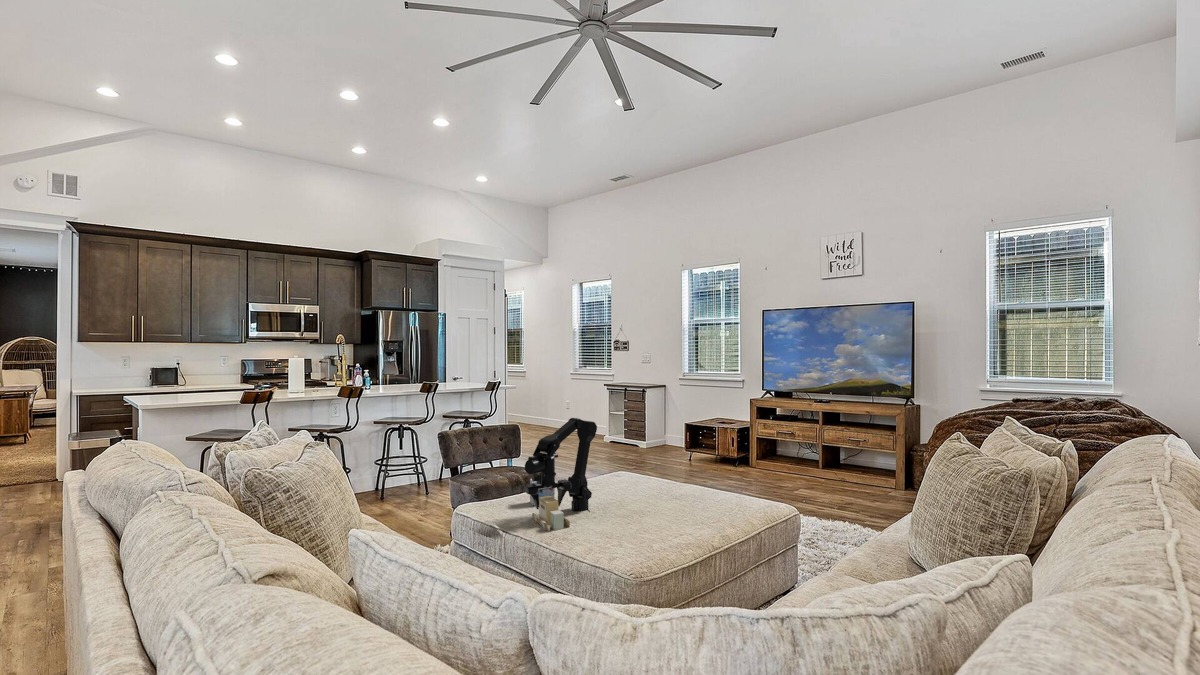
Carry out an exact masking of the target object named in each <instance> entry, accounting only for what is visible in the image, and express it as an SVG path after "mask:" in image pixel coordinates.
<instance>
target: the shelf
mask: <svg viewBox="0 0 1200 675" xmlns="http://www.w3.org/2000/svg"><path fill="white" fill-rule="evenodd" d="M531 519H533V520H534V521H535V522H536V523H538V524H539V525H540V526H541V527H543V529H544V530H546V531H547V532H551V531H555V530H554V529H552V528H551V527H550V525H548V524H547V523H546V522H545V521H544V520H542V519H541V518H540V517H539V515H537V514H536V513H535V512H532V514H531ZM569 528H571V527H570V520H569V519H567V518H566V517H565V516H564V528H563V529H562V530H564V529H569Z"/></svg>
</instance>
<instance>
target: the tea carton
mask: <svg viewBox="0 0 1200 675" xmlns="http://www.w3.org/2000/svg"><path fill="white" fill-rule="evenodd" d="M556 510H559V506H558V499H556V498H555V499H554V498H553V497H551V496H545V497H539V509H538V516H539V517H540V518H541V519H542V520H544V521H545V522H546V523H547V524H548V525H550V511H556Z"/></svg>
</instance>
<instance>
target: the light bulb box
mask: <svg viewBox="0 0 1200 675" xmlns="http://www.w3.org/2000/svg"><path fill="white" fill-rule="evenodd" d="M529 484H535V485H536V486H538V485H541V484H537V482H533V481H532V478H530V479H529ZM549 487H550V486H549ZM555 489H556V488H552V489H544V490H538V492H537V493H538V494H539V497H545V496H551V497H553V498H554V499H556V498H555V497H556V496H555V493H556V492H555ZM529 500H530V501H529V502H530V505H531V506H532V507H533V505H535V502H534V500H533V498H532V496H531V495H529ZM535 506H536V505H535Z"/></svg>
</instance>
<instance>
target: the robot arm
mask: <svg viewBox="0 0 1200 675" xmlns="http://www.w3.org/2000/svg"><path fill="white" fill-rule="evenodd" d="M575 431H576V435H577V437H578V446H577V451H576V452H577V453H576V457H575V458H576V459H575V464H574V470H573V474H572V475H571V476H568V478H567V479H566V478H565V479H559V480H557V482H556V476H557V473H556V469H555V468H556V464H555V463H556V462H555V461H556V459H555V458H559V455H558V454H557V453H556V452H557V451H558V450H559V448H560V446H561V443H562V442H563V441H565V439H567V438H568V437H569V436H570V435H572V433H574V432H575ZM597 431H598V425H597V423H596V422H595V421H591V420H583V419H581V418H578V417H571V418H569V419H568V421H566V422H565V423H564V424H563V425H562V426H561V427H559V428H558V429H556V431H554V432H553V433H552V434H549V435H546V436H544V437H541V438H539V440H538V443H537V445H536V448H535V450H534V451H533V454H532V456H528V460H526V461H525V463H524V469H525V470H524V471H525V472H526V473H527V474H528V475H531V479H532V481H533V482H537V484H541V485H538V486H536V485H535V484H530V483H529V484H525V485H524V488H523V491H524V493H526V494H527V495H529V496H530V495H531V496H532V498H533V500H534V502H535V509H536V510H538V511H539V494H538V493H537V492H538V490H544V489H552V488H555V489H556V490H557V501H558V507H560V506H561V504H562V501H563V499H564V497H565V495H566V493H567V492H568V495H569V497H570V498H571V499H572V501H571V511H573V512H586V511H587V512H589V513H590V512H591V510H589V500H590V499H591V498H592V496H593V495H592V494H593V492H591V490H590V489H589V488H588V483H589V482H588V480H587V476H586V472H587V465H588V459H589V456H590V455H589V453H590V447H591V442H592V441H593V439H594V438H595V437H596V434H597ZM538 473H539V474H538ZM549 486H550V487H549Z"/></svg>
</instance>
